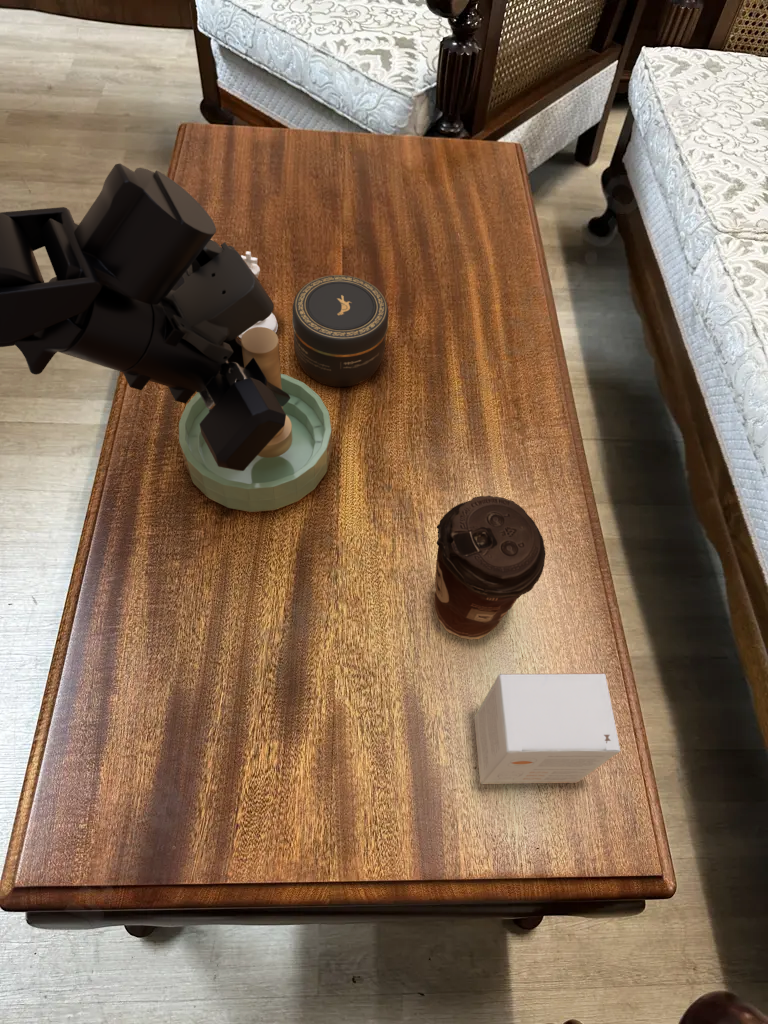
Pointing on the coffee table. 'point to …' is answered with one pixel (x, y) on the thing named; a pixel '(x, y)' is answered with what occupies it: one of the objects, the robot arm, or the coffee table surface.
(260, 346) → the muddler
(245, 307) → the robot arm
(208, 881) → the coffee table surface
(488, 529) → the coffee cup
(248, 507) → the bowl
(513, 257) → the coffee table surface
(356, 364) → the jar
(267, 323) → the chess piece
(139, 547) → the coffee table surface
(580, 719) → the small box
